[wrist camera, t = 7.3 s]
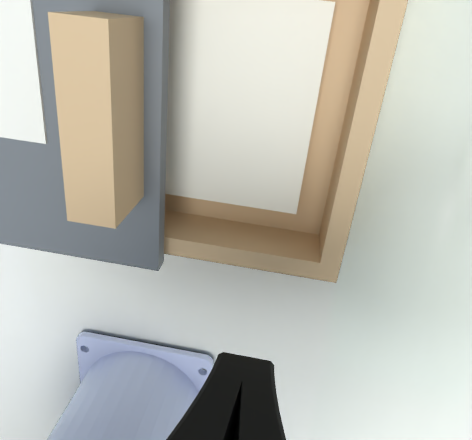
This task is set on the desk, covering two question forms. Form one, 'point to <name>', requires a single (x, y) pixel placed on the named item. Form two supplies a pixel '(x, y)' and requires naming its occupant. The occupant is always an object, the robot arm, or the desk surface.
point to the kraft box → (272, 127)
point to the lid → (84, 128)
